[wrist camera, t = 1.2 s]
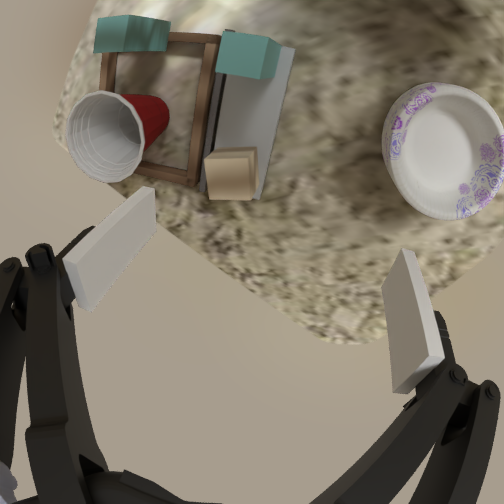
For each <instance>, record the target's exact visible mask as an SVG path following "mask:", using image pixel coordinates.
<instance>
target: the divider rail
mask: <svg viewBox="0 0 504 504" xmlns="http://www.w3.org/2000/svg"><path fill="white" fill-rule="evenodd" d="M225 31H229V32H235V31H233V30H228V29H225ZM226 75H227V74H225V73H219V72H217V74H216V79H215V85H214V91H213V97H212V103H211V109H210V115H209V121H208V128H207V135H206V142H205V149H204V156H203V164H202V171H201V179H200V188H199V191H201V192H205V191H206V190H207V189H208V186H207V179H206V172H205V164H204V159H205V158H206V157H207V156H208V155H210V154H211V153H212V152H213V151H214V145H215V138H216V132H217V126H218V120H219V114H220V108H221V102H222V97H223V91H224V86H225V80H226Z"/></svg>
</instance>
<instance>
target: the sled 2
mask: <svg viewBox="0 0 504 504" xmlns="http://www.w3.org/2000/svg"><path fill="white" fill-rule="evenodd" d="M295 51H296V49H294V48H289V47H285V46H281V45H280V44H278V43H277V42H275V41H274V40H272V39H271V38H269V37H264V36H258V35H252V34H245V33H237V32H229V31H223V34H222V39H221V43H220V48H219V54H218V59H217V64H216V69H215V72H219V73H225V74H227V78H226V83H225V88H224V94H223V99H222V105H221V111H220V117H219V123H218V129H217V135H216V141H215V148H214V150H215V149H217V148H218V147H257V153H258V169H259V186H258V188H257V190H256V192H255V194H254V196H253V197H252V198H254V199H257V200H259V199H260V197H261V194H262V189H263V185H264V181H265V177H266V172H267V168H268V164H269V160H270V156H271V151H272V147H273V143H274V139H275V135H276V130H277V126H278V122H279V118H280V114H281V109H282V105H283V101H284V97H285V93H286V89H287V84H288V80H289V76H290V72H291V68H292V64H293V59H294V55H295Z"/></svg>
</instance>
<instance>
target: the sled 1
mask: <svg viewBox="0 0 504 504" xmlns="http://www.w3.org/2000/svg"><path fill="white" fill-rule="evenodd" d="M170 26H171V22H169V21H164V20H159V19H153V18H147V17H141V16H134V15H122V16H113V17H105V18H98V22H97V28H96V35H95V43H94V51H93V53H102V62H101V72H100V85H99V91H100V90H103V91H108V92H112V93H114V81H115V70H116V61H117V52H130V51H166V49H167V43H168V41H172V42H192V43H204V44H206V46H205V51H204V56H203V62H202V68H201V73H200V79H199V86H198V92H197V99H196V105H195V112H194V120H193V127H192V135H191V143H190V152H189V160H188V170H187V171H186V170H181V169H177V168H172V167H168V166H163V165H158V164H154V163H149V162H144V161H141V162H140V163H139V164H138V166H137V167H136V169H135V170H134V172H133V173H136V174H140V175H144V176H149V177H153V178H158V179H162V180H166V181H170V182H175V183H179V184H183V185H187V186H191V187H195V186H196V185H197V184H198V183H199V182H200V174H201V166H202V158H203V151H204V143H205V136H206V129H207V123H208V116H209V110H210V104H211V98H212V92H213V86H214V80H215V75H216V72H215V69H216V64H217V59H218V54H219V48H220V43H221V39H222V36H220V35H213V34H201V33H182V32H169V31H170Z"/></svg>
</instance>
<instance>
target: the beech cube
mask: <svg viewBox="0 0 504 504" xmlns="http://www.w3.org/2000/svg"><path fill="white" fill-rule="evenodd" d="M204 164H205V172H206V179H207V186H208V193H209V200H251V199H252V197H253V196H254V194H255V192H256V190H257V188H258V186H259V169H258V153H257V147H218V148H217V149H215V150H214V151H213V152H212V153H211V154H210V155H208V156H207V157H206V158H205V159H204Z"/></svg>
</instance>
